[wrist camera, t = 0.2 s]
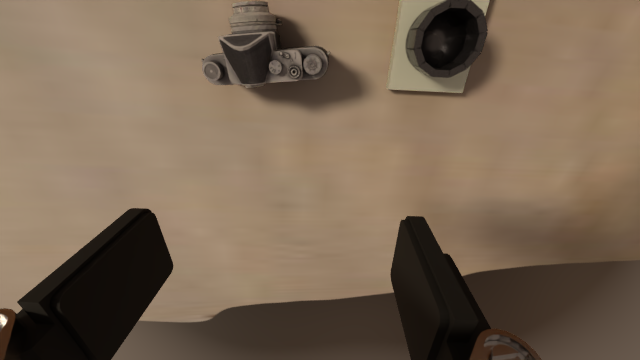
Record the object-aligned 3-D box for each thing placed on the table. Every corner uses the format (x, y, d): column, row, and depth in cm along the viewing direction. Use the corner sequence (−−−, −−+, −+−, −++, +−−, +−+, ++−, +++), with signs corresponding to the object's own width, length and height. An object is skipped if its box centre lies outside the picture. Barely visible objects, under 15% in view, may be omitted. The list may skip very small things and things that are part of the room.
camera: (329, 2, 32) (328, -13, 23) (331, 74, 36) (331, 85, 27) (207, 10, 33) (161, -1, 24) (222, 80, 37) (187, 92, 28)
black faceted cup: (412, 2, 30) (423, -3, 27) (477, 5, 30) (497, 0, 26) (400, 72, 34) (408, 75, 30) (458, 75, 34) (473, 78, 30)
